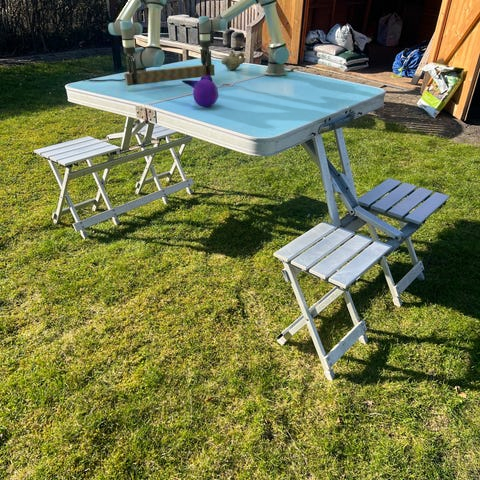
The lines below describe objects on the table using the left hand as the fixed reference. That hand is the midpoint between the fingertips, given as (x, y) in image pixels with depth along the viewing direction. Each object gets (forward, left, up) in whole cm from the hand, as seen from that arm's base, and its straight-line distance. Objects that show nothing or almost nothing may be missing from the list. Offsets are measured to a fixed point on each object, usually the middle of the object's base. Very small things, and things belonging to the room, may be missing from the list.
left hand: (133, 83), depth 308 cm
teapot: (+86, +49, -5) cm, 99 cm away
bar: (+27, +6, -1) cm, 28 cm away
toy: (+35, -57, -5) cm, 67 cm away
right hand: (+54, +12, 0) cm, 56 cm away
